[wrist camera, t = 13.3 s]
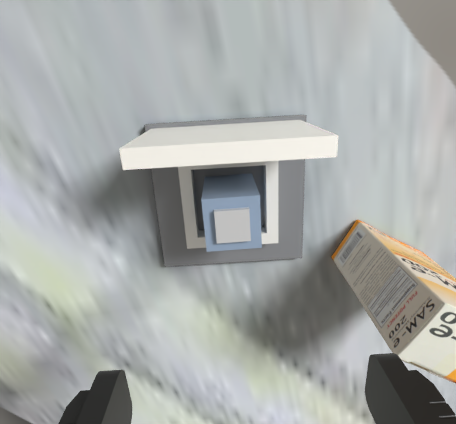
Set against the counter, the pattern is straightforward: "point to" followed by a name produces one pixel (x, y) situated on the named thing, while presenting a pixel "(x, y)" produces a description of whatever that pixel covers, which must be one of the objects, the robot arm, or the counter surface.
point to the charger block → (231, 212)
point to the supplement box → (403, 297)
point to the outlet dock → (229, 165)
